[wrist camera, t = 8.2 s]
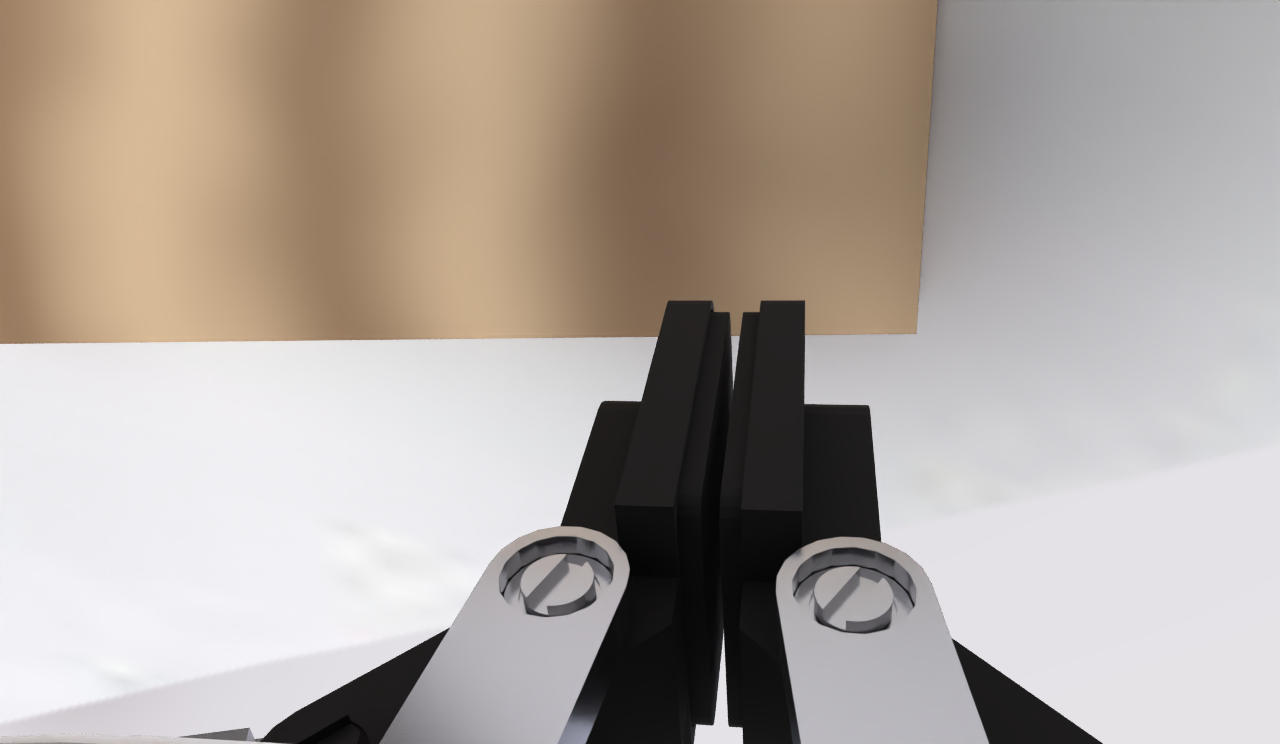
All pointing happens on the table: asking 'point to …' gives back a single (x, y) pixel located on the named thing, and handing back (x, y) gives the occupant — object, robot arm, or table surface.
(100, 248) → the plank
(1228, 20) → the table surface
